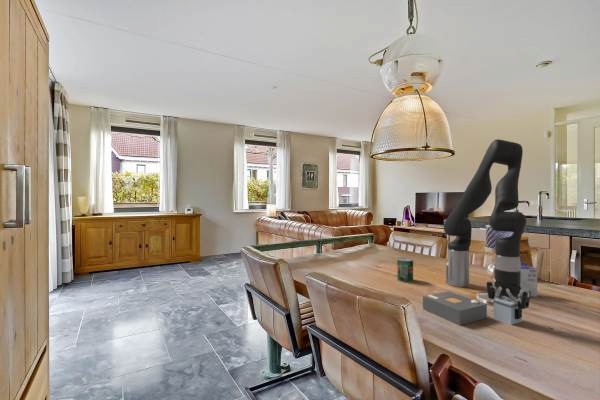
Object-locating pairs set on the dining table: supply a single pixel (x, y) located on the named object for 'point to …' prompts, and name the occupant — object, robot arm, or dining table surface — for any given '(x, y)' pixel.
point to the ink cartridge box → (528, 279)
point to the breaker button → (453, 300)
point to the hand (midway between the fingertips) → (507, 315)
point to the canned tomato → (405, 269)
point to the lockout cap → (505, 310)
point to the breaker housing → (455, 308)
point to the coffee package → (525, 252)
